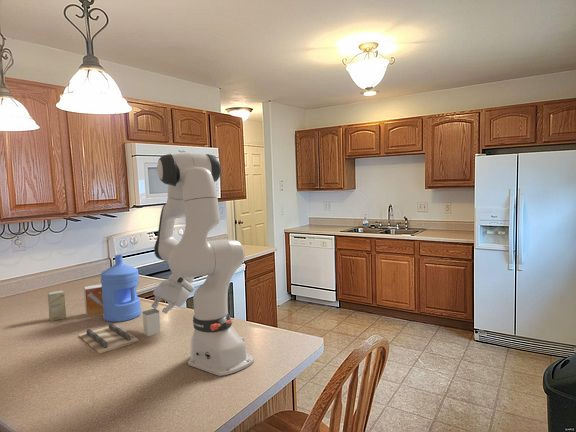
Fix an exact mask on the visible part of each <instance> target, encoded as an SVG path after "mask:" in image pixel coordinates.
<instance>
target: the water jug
mask: <svg viewBox="0 0 576 432" xmlns="http://www.w3.org/2000/svg"><path fill="white" fill-rule="evenodd" d="M114 261H115V263H114V265H112V266H111V267H108V268H107V269H105V270H103V271H102V272H100V284H102V301H103V310H104V314H103V319H104V321H106V322H109V323H120V322H127V321H130V320H132V319H136V318H138V317H140V315H141V314H142V307H141V298H140V297H139V296H138V293H137V286H138V285H139V284H140V282H139V278H140V275H139V270H138V267H134V266H131V265H127V264H124V262H123V261H124V260H123V254H116V255H114Z"/></svg>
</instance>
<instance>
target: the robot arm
mask: <svg viewBox="0 0 576 432" xmlns="http://www.w3.org/2000/svg"><path fill="white" fill-rule="evenodd" d="M156 172H157V175H158V178H159V181H161V182H162V183H163V184H165V185H167V199H166V203H164V204H163V206H162V208H161V211H160V217H159V223H158V231H157V238H156V241H155V244H154V248H153V251H154V256H155V257H156V258H157V259H158V260H161V261H164V262H167V263H168V268H169V270H170V272H171V274H170V275H169V277H168V278H167V279H164V280H162V281H161V282H160V283H159V284H158V285H157V286H156V288H155V289H154V291H153V293H152V294H153V296H155V297H154V299H153V300H154V301H153V303H152V304H151V308H152V309H154V308H155V309H157V308H158V307H159V303H160V302H161V301H162V300H163V301H165V302H167V303H168V305H166V306H165V307H163V308H162V310H161V312H162V313H163V314H165V315H167V314H168V313H169V311H171V310H173V309H174V307H175V306H176V307H178V308H180V307H182V306H183V305H184V304H185V303H186V301H187V300H188V298H189V297H190V295H191V293H193V292H194V293H193V296H192V300H193V314H194V315H193V318H192V324H193V328H194V331H193V334H192V336H191V339H190V358H189V359H188V360H187V365H188V366H190V367H193V368H196V369H198V370H201V371H205V372H207V373H210V374H212V375H216V376H219V377H221V376H226V375H227V376H228V375H230V374H234V373H237V372H239V371H242V370H244V369H246V368H247V367H249V366H250V365H252V364H253V363H254V362H255V358H254V357H253V356H252V355H251V354H250V353H248V352H247V348H246V344H245V343H246V342H245V338H244V337H243V336H240V335H239V333H238V332H237V331H236V329H235V328H234V327H233V325H232V324H233V318H231V316H230V313H229V311H228V294H229V287H230V283H231V281H232V278H233V276H234V274H235V273H236V272H237V270H238V269H239V268H240V267H241V266H242V265H243V262H244V261H245V249H244V247H243V245H242V244H241V242H240V241H238V240H236V239H229V238H228V239H226V238H223V239H215V240H208V234H209V232H210V231H211V230H213V229H215V228H216V227H217V226H218V224H219V222H220V220H221V216H220V207H219V201H218V200H219V199H218V191H217V188H216V185H215V184H216V182H217V181H218V180H219V178H220V177H221V174H222V173H221V162H220V160H219V158H218V157H217V156H216V155H212V154H210V153H209V154H208V153H207V154H200V153H188V152H186V153H176V154H175V153H174V154H171V153H169V154H165V155H161V156H160V157H159V158H158V161H157V165H156ZM181 218H184V219H185V227H184V232H183V235H182V237H181V239H180V240H177V239H176V238H175V237H174V228H175V222H176V219H181ZM203 276H207V277H206V279H205V281H204V282H203V283H202V284H201V285H199V286H198V287H197V288H196V289H195V286H194V285H193V284H192V283H193V282H194V279H195V278H197V277H203Z"/></svg>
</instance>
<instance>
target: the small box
mask: <svg viewBox="0 0 576 432" xmlns="http://www.w3.org/2000/svg"><path fill="white" fill-rule="evenodd" d="M83 294H84V308H85V309H84V310H85V315H86V317H87V318H89V317H93V316H100V315H104V310H103V301H102V284H101V283H100V284H99V283H98V284H93V285H88V286H83Z"/></svg>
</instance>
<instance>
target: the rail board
mask: <svg viewBox="0 0 576 432" xmlns="http://www.w3.org/2000/svg"><path fill="white" fill-rule="evenodd" d="M78 337H79V338H81V339H82V340H83V341H84V342H85V343H86V344H88V345H89V346H90V347H91V348H93V349H94V351H96V352H97V353H98V354H102V353H106V352H109V351H113V350H116V349H119V348H122V347H125V346H128V345H131V344H134V343H139V342H140V339H138V338H137V337H135V336H134V335H132V334H130V333H129V332H128V331H126V330H124V329H123V328H121V327H120V326H118V325H117V324H114V323H113V322H109V323H108V326H105V327H102V328H98V329H94V330H91V329H90V328H86V332H83V333H79V334H78Z"/></svg>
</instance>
